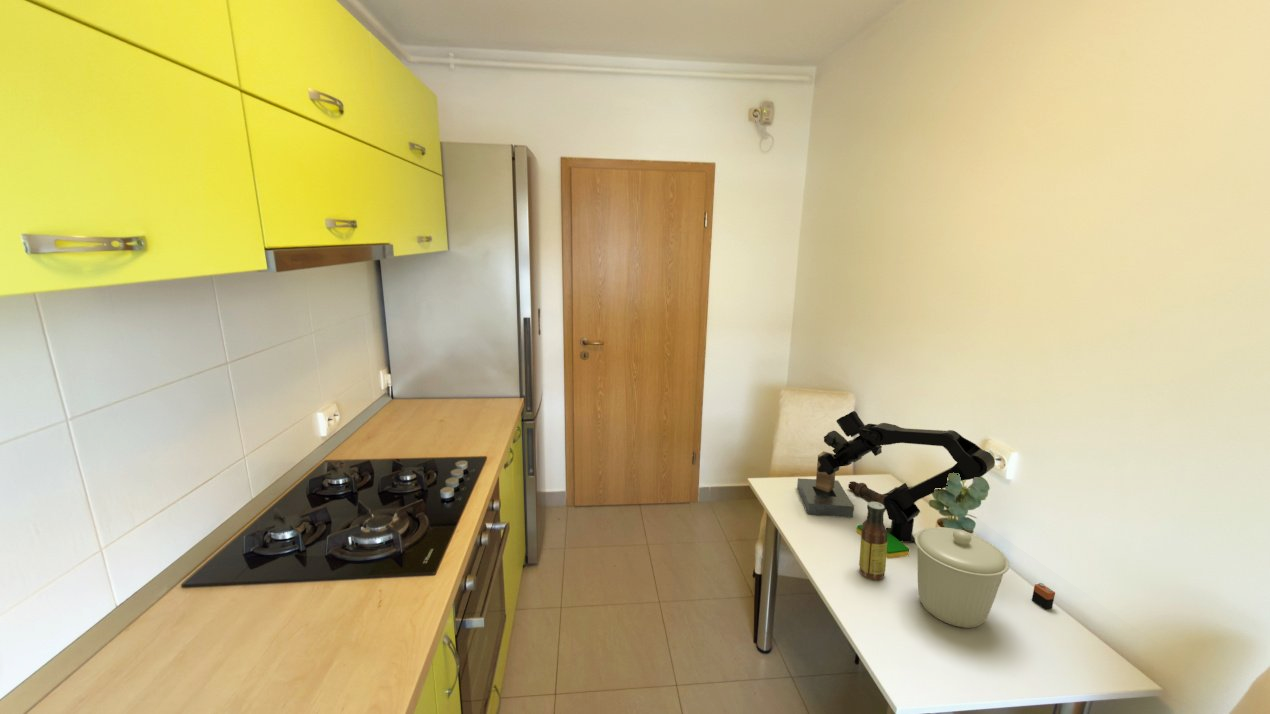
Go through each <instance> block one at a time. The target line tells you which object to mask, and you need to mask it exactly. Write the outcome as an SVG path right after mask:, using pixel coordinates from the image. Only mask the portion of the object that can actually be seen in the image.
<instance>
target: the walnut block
mask: <svg viewBox="0 0 1270 714" xmlns="http://www.w3.org/2000/svg"><path fill="white" fill-rule="evenodd" d="M826 453H829V454H831V455H832V456H833V455H834V454H835V453H831V452H827V451H824V450H823V451H822V452H820V453H819V454H818V455H817V458H818V457H820V456H822V455H824V454H826ZM833 458H834V457H833ZM836 458H837V457H836ZM834 459H835V458H834ZM816 465H817V466H816V478H815V479H816V488H817V489H820V490H823V491H826V492H830V491H831V490H832V489H833V488H834V483H835V479H836V472H835V473H833V474H831V475H828V474H827V473H826V472H819V471H818V470H817V469H818V468H819V467H820V465H821V464H820V462H819V461H818V460H817V463H816Z"/></svg>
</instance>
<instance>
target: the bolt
mask: <svg viewBox="0 0 1270 714" xmlns="http://www.w3.org/2000/svg"><path fill="white" fill-rule="evenodd" d="M847 486H848V488H849V490H851V491H853V492H854V493H855V495H856V496H858V497H865V498H867V499H869V500H870V501H872V502H879V503H881V504H883V505H884V503H883V501H884V500H883V499H884V498H885V497H886V496H887V495H886V493H887V492H886V493H880V492H877V491H875V490H873V489H871V488H869V487H868V485H867V484H866V483H864V482H857V481H854V480H853V481H849V483H848V485H847ZM885 510H886V508H885ZM886 511H887V510H886Z"/></svg>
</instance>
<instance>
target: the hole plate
mask: <svg viewBox="0 0 1270 714" xmlns="http://www.w3.org/2000/svg"><path fill="white" fill-rule="evenodd" d="M796 485H797V486H796V490H797V491H798V494H799V497H800V499H801V501H802V504H803V506H804V509H805V511H806V512H807V515H809V516H819V517H820V516H823V517H834V518H835V517H837V518H838V517H839V518H840V517H841V518H852V519H853V518H854V511H855V506H854V504H853V503H852V501H851V499H850V497H849V496H848V495H847V493H846V491H845V490H844V487H843V485H841V483H840V482H839V480H835V483H834V488H833V489H832V490H831V491H830V492H826V491H823V490H820V489H817V488H816V478H815V479H813V478H799V477H798V478H797V484H796Z"/></svg>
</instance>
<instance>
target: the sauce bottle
mask: <svg viewBox="0 0 1270 714" xmlns="http://www.w3.org/2000/svg"><path fill="white" fill-rule="evenodd" d="M866 508H867V516H866V519H865V520H864V521H863V523H862V524H861V525H862V534H861V535H860V548H859V563H858V567H859V571H860V573H861V575H862V576H864V577H866V578H868V579H870V580H877V581H878V580H882V579H884V577H885V573H886V567H887V563H886V562H887V557H886V553H887V531H886V527H885V523H884V513H885V512H886V511H885V506H884V505H883V504H881V503H879V502H875V501H869V502H868V503H867V506H866Z"/></svg>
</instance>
